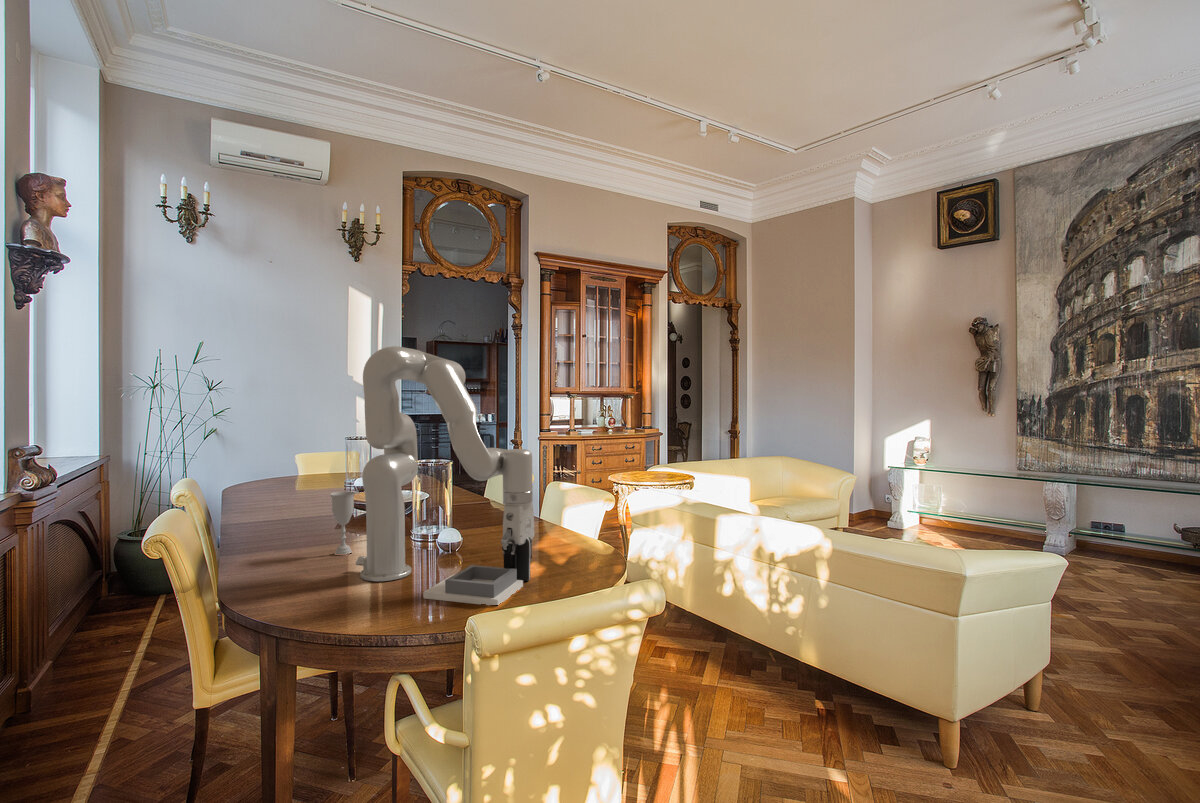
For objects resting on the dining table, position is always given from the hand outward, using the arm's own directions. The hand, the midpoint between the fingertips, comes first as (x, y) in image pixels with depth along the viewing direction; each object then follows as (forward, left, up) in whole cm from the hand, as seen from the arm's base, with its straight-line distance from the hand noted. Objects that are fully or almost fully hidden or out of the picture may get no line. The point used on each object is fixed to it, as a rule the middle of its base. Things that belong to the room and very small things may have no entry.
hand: (518, 564), depth 153 cm
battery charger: (0, 0, -4) cm, 4 cm away
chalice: (-60, +8, -4) cm, 61 cm away
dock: (-6, -12, -4) cm, 14 cm away
